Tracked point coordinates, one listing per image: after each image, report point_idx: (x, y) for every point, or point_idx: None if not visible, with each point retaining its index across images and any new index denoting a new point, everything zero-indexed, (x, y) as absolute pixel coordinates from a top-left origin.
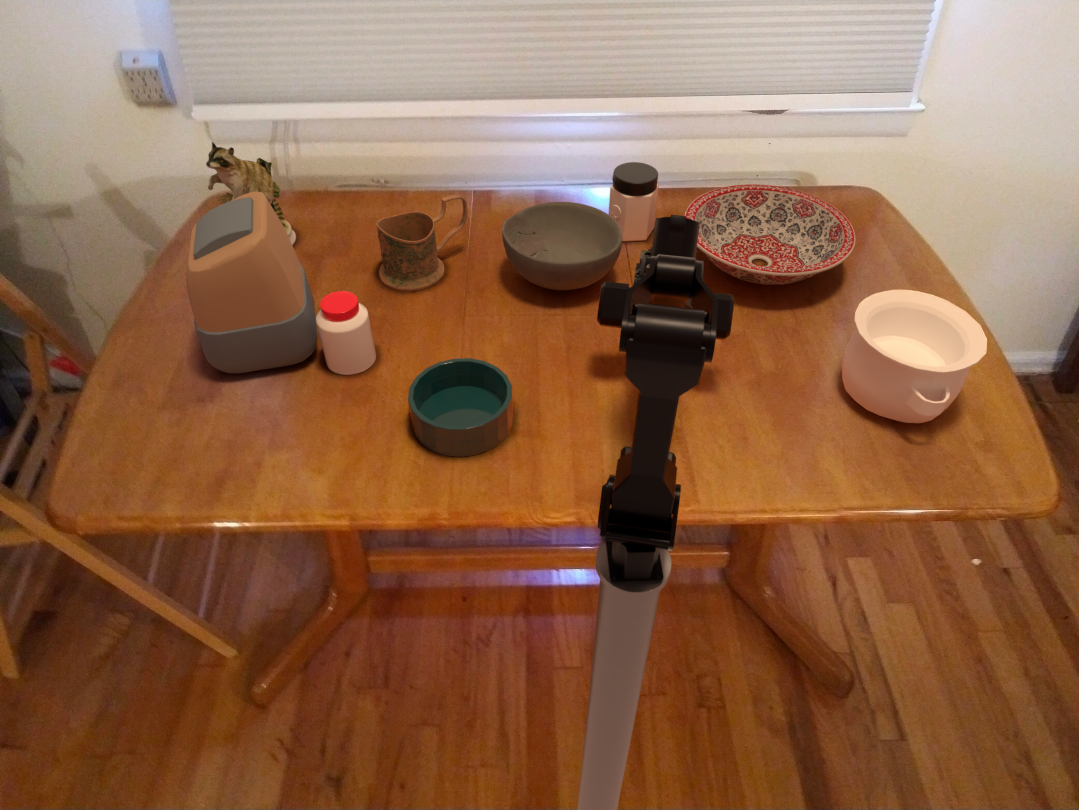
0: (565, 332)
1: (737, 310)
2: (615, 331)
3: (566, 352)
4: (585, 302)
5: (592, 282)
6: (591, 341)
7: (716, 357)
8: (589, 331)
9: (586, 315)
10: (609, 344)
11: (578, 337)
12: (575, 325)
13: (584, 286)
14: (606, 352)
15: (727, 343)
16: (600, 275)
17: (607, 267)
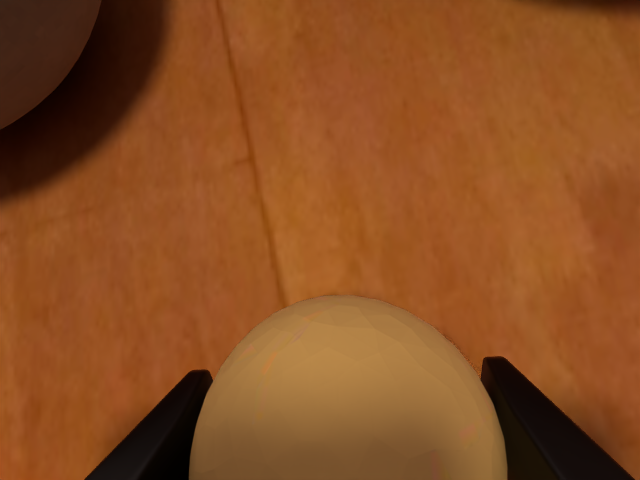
0: (21, 325)
1: (611, 39)
2: (187, 276)
3: (26, 442)
4: (81, 149)
5: (35, 92)
6: (109, 355)
7: (597, 341)
8: (100, 299)
9: (87, 215)
10: (172, 357)
11: (64, 342)
12: (53, 278)
13: (22, 113)
14: None
15: (621, 239)
16: (33, 60)
17: (31, 15)
